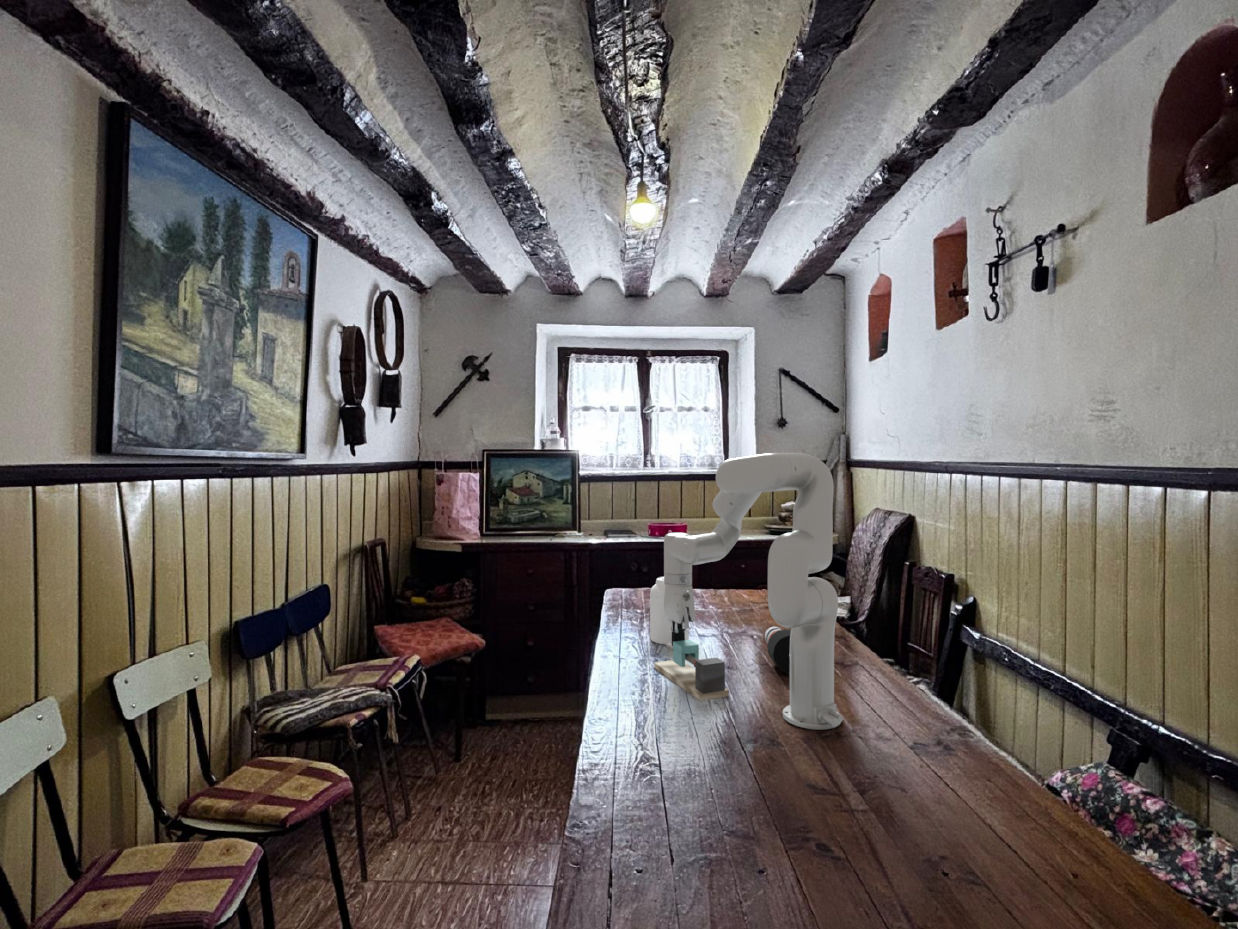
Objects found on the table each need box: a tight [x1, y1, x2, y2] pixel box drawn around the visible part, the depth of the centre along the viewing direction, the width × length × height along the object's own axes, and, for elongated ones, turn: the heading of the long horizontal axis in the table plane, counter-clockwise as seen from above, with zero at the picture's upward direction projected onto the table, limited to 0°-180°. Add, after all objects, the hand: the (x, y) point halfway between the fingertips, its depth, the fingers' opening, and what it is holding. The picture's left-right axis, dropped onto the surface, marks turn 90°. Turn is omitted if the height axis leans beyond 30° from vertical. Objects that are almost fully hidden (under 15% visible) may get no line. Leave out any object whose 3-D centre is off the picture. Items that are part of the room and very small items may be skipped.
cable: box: [764, 626, 791, 675], centre depth 190 cm, size 10×34×10 cm, turn 173°
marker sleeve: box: [672, 639, 700, 667], centre depth 171 cm, size 5×5×5 cm
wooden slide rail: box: [653, 643, 729, 702], centre depth 170 cm, size 26×8×8 cm, turn 22°
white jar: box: [649, 576, 690, 646], centre depth 208 cm, size 12×12×20 cm
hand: (678, 646), depth 175 cm, fingers closed
